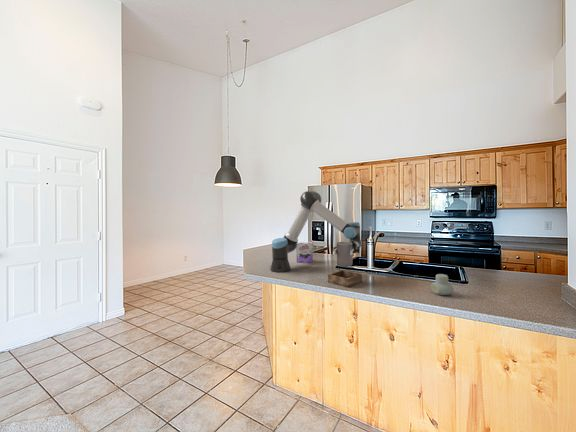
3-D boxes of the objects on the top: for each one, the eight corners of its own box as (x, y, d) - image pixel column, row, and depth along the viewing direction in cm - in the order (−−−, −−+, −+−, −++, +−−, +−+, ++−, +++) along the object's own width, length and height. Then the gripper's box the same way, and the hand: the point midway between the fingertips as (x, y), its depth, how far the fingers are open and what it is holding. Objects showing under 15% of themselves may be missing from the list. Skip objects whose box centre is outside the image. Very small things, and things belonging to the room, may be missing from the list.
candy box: (296, 262, 230) (296, 243, 229) (297, 260, 236) (296, 241, 235) (312, 262, 228) (312, 242, 227) (313, 260, 233) (312, 241, 233)
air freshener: (428, 290, 152) (428, 273, 151) (442, 289, 152) (442, 272, 152) (440, 297, 141) (440, 278, 140) (456, 296, 142) (456, 277, 141)
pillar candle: (335, 263, 175) (334, 240, 174) (349, 262, 176) (349, 239, 175) (339, 267, 166) (339, 242, 164) (355, 266, 166) (354, 241, 165)
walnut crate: (328, 282, 172) (327, 274, 172) (342, 277, 182) (342, 270, 182) (347, 287, 161) (347, 279, 161) (362, 281, 171) (361, 274, 171)
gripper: (368, 252, 181) (360, 259, 161) (336, 250, 192) (325, 257, 172) (368, 241, 181) (360, 247, 161) (336, 240, 191) (325, 245, 171)
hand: (342, 252), depth 166 cm, fingers closed on pillar candle, 9 cm apart
